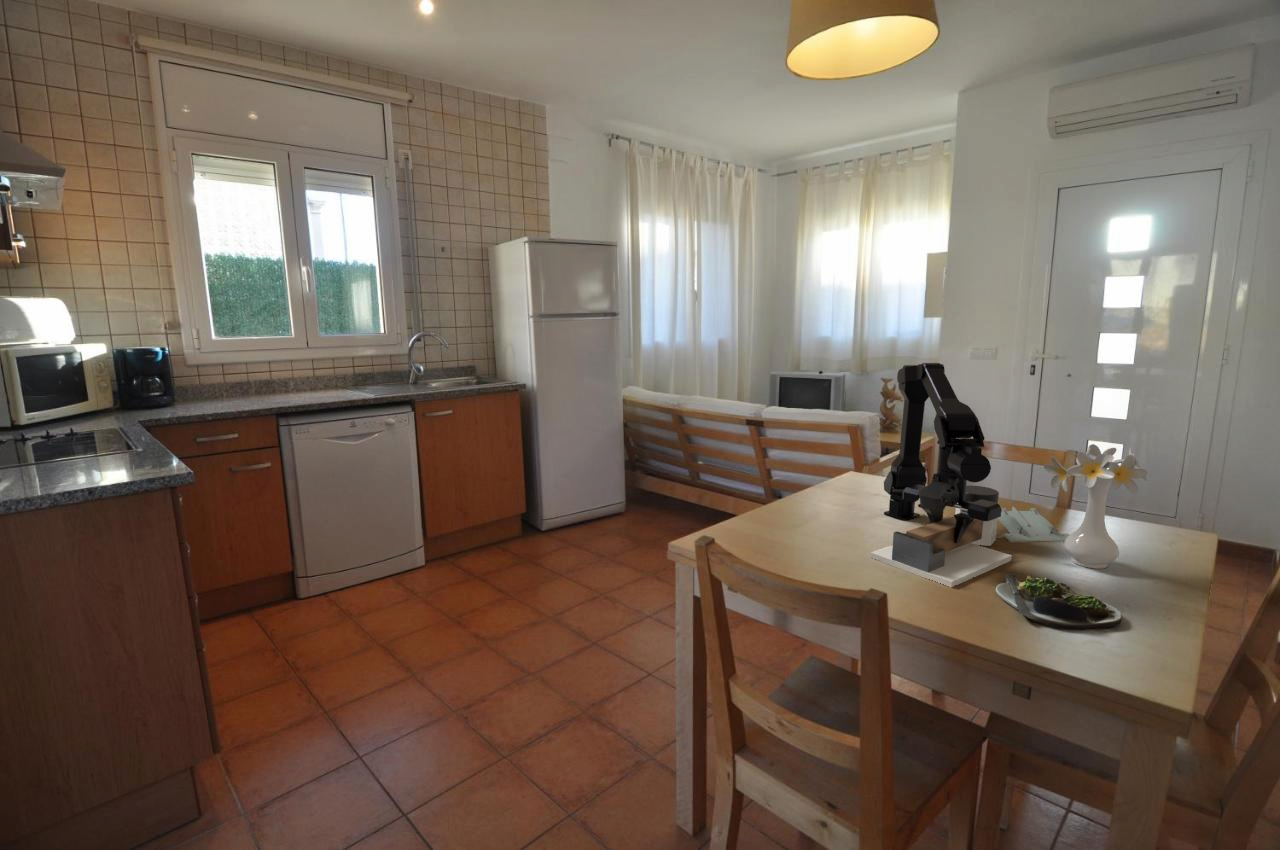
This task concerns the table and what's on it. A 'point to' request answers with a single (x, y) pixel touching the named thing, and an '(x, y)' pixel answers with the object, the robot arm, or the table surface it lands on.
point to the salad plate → (1058, 604)
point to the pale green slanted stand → (1028, 527)
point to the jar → (988, 526)
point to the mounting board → (952, 563)
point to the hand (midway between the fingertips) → (946, 539)
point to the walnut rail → (947, 533)
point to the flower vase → (1096, 501)
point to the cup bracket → (916, 552)
